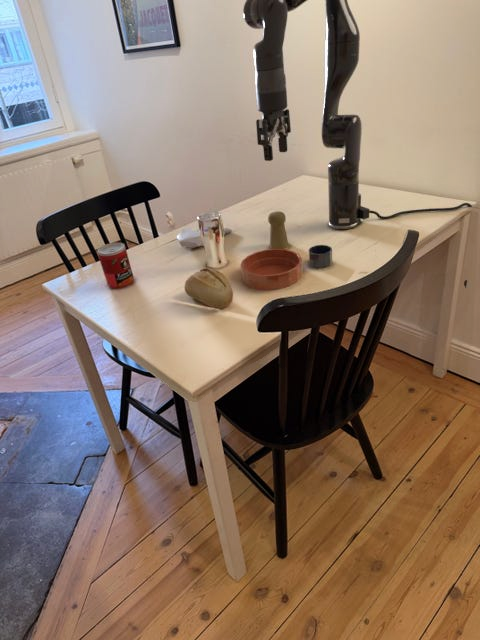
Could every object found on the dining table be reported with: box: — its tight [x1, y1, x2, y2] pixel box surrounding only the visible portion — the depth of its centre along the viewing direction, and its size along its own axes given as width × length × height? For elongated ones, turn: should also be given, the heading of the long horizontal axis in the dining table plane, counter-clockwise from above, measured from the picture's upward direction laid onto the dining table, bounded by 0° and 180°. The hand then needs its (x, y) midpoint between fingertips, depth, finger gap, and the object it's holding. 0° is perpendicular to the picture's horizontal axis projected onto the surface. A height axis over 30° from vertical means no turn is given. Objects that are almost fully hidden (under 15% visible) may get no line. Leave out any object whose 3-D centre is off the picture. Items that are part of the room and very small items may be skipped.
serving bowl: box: [240, 248, 304, 291], centre depth 126 cm, size 16×16×5 cm
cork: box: [267, 210, 289, 249], centre depth 140 cm, size 6×6×11 cm
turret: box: [176, 227, 232, 249], centre depth 153 cm, size 10×20×5 cm, turn 136°
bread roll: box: [184, 267, 234, 310], centre depth 118 cm, size 10×15×8 cm, turn 46°
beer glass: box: [197, 211, 228, 269], centre depth 134 cm, size 7×7×15 cm
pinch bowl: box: [308, 244, 333, 269], centre depth 128 cm, size 6×6×5 cm
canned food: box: [97, 242, 135, 290], centre depth 132 cm, size 8×8×11 cm
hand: (276, 156), depth 124 cm, fingers open, 8 cm apart
